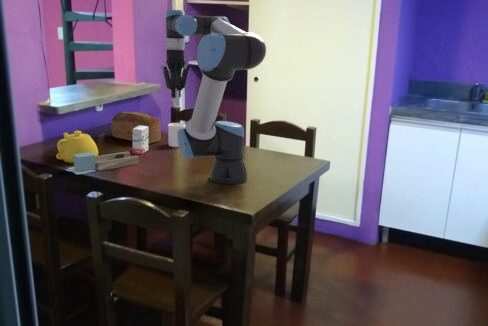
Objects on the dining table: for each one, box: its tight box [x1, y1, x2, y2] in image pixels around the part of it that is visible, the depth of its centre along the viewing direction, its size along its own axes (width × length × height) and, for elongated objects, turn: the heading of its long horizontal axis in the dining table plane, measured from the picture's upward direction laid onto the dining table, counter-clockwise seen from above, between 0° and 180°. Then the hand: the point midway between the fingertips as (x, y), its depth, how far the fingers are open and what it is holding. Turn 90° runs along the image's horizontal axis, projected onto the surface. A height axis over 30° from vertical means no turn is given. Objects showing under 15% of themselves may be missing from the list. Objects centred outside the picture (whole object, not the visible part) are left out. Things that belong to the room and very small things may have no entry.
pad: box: [68, 166, 96, 175], centre depth 206 cm, size 10×8×1 cm
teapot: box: [56, 130, 99, 164], centre depth 220 cm, size 20×19×13 cm
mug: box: [167, 122, 186, 148], centre depth 249 cm, size 9×12×11 cm
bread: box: [110, 111, 162, 145], centre depth 255 cm, size 12×28×14 cm, turn 59°
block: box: [73, 152, 96, 172], centre depth 206 cm, size 6×7×6 cm
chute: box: [95, 151, 140, 172], centre depth 214 cm, size 10×18×4 cm, turn 128°
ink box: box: [132, 126, 149, 155], centre depth 234 cm, size 9×5×12 cm, turn 168°
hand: (176, 105), depth 210 cm, fingers closed
